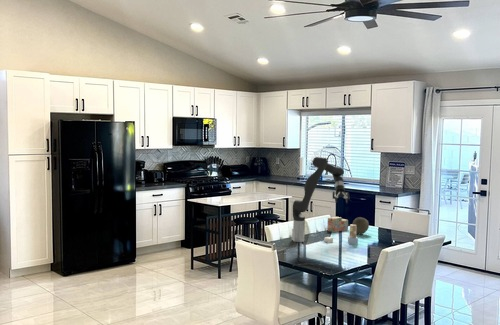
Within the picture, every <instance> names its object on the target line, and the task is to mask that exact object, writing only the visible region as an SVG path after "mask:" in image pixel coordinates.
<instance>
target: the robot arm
mask: <svg viewBox="0 0 500 325" xmlns="http://www.w3.org/2000/svg"><path fill="white" fill-rule="evenodd" d="M312 159H313V160H312V166H313V167H315V168H316V170H315V172H313V173H312V174H311V175H309V176H308V177H307V179H306V181H305V183H304V186H303V189H304V191H303V192H304V195H303V199H302V200H300V199H295V200H294V201H293V203H292V217H293V224H292V225H293V226H292V227H293V228H292V229H291V230H292V231H291V232H292V234H291V241H292V240H293V242H295V243H304V242H305V227H306V224H305V223H306V217H305V216H304V215H303V214H302V213H305V212H306V211H307V210H308V208H309V205H310V202H311V199H312V196H313V194H314V192H315V189H316V188H317V185H318V183H319V181H320V179H321V176H322V175H323V173H324V172H325V171H326V172H328V173H329V174H331V175H332V177H333V179H334V186H335V187H334V188H335V191H332V199H334V201H335V203H338V198H343V199H345V203H346V204H348V203H349V200H350V199H351V196H350V192H349V191H347V192H346V190H345V184H344V179H343V177H342V176H343V175H344V174H345V171H344V169H343V168H342V167H339V166H335V165H333V164H331V163H328V158H326V157H322V156H315V157H314V158H312ZM335 195H336V196H335Z"/></svg>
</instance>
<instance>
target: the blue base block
mask: <svg viewBox="0 0 500 325" xmlns="http://www.w3.org/2000/svg"><path fill="white" fill-rule="evenodd" d="M349 236H350V235H348V236H347V243H348V244H349V245H358V241H359V238H358V236H356V238H350V237H349Z"/></svg>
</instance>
